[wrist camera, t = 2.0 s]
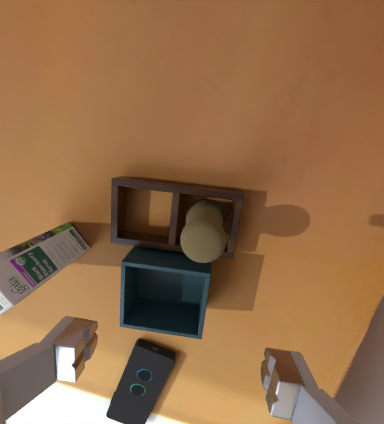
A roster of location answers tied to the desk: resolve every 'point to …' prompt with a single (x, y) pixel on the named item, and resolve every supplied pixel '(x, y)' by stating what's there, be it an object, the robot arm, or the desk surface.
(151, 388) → the smart home device
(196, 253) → the olive pepper mill
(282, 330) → the desk surface
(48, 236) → the syrup box
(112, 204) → the holder
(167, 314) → the bin
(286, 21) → the desk surface
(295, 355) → the robot arm
